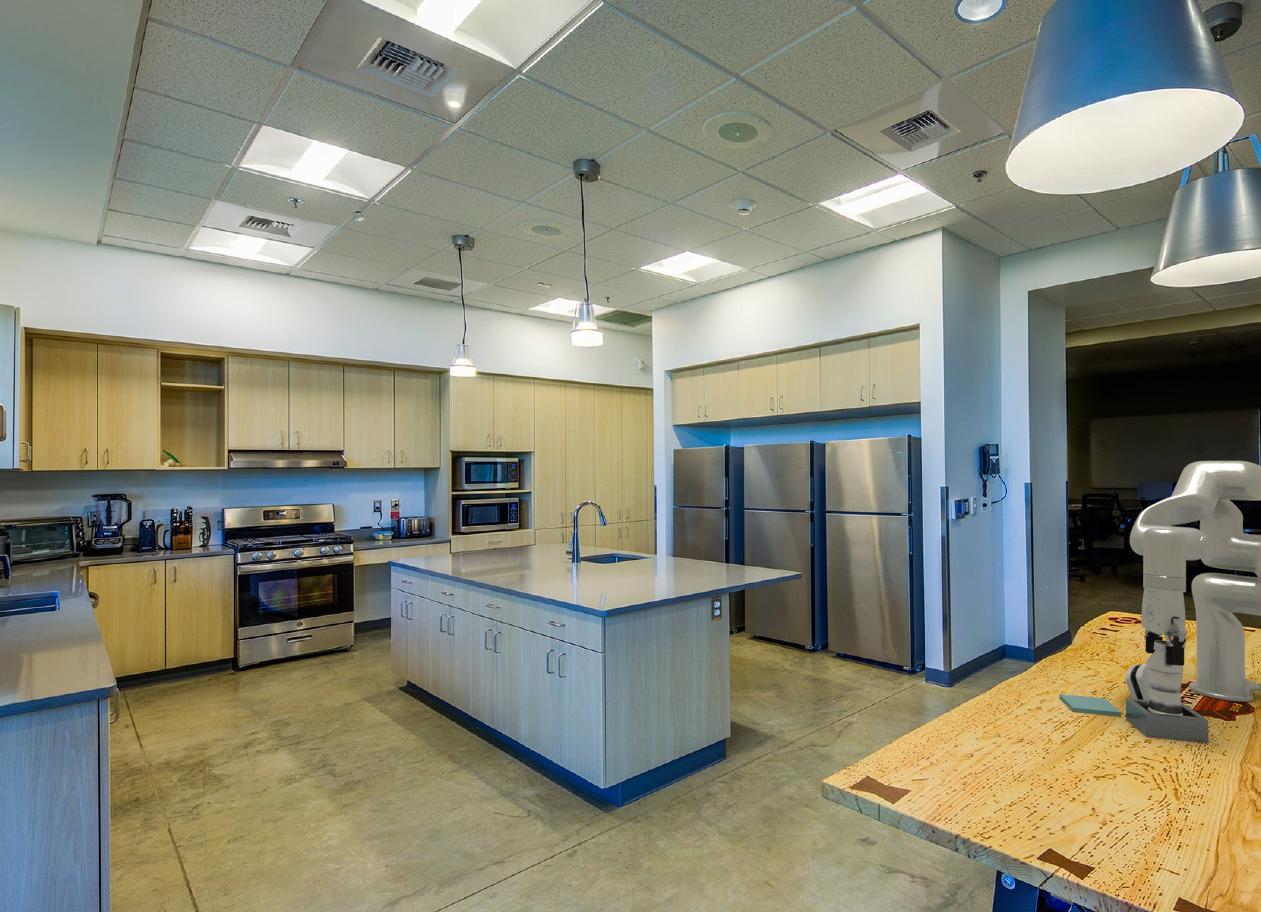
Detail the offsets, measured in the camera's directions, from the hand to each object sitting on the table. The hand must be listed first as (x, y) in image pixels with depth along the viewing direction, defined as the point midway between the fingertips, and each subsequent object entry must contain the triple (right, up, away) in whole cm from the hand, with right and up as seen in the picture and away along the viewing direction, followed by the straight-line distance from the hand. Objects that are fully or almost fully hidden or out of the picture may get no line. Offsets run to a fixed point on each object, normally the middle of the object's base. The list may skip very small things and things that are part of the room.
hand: (1164, 659), depth 149 cm
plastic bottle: (0, -17, 0) cm, 17 cm away
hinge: (+13, -17, +20) cm, 29 cm away
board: (-7, -17, +15) cm, 23 cm away
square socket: (0, -16, 0) cm, 16 cm away
